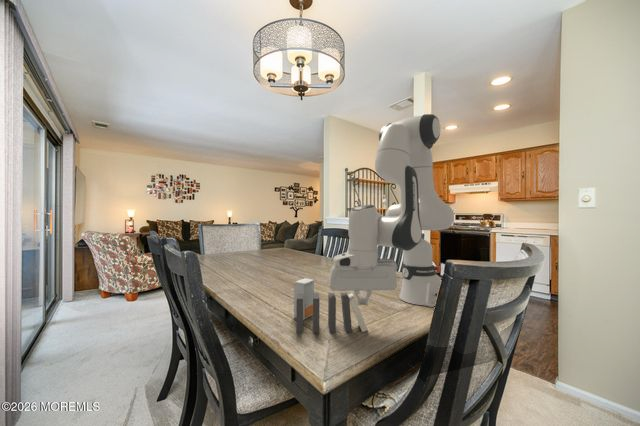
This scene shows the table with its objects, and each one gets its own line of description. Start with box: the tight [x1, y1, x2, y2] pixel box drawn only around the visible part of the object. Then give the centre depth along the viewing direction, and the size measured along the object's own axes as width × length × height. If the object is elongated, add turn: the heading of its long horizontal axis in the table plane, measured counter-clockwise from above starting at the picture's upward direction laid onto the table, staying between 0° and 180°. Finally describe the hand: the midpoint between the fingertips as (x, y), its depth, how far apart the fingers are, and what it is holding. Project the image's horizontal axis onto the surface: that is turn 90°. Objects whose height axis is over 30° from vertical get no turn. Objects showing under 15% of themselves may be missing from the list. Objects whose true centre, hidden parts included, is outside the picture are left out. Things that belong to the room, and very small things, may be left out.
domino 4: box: [340, 292, 353, 333], centre depth 77 cm, size 2×5×10 cm, turn 2°
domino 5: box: [347, 292, 369, 333], centre depth 77 cm, size 2×5×10 cm, turn 2°
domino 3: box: [327, 292, 337, 334], centre depth 76 cm, size 2×5×10 cm, turn 3°
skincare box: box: [293, 277, 315, 321], centre depth 86 cm, size 6×4×12 cm
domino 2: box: [312, 292, 320, 334], centre depth 76 cm, size 2×5×10 cm, turn 3°
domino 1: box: [295, 293, 304, 334], centre depth 76 cm, size 2×5×10 cm, turn 3°
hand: (362, 304), depth 77 cm, fingers closed
